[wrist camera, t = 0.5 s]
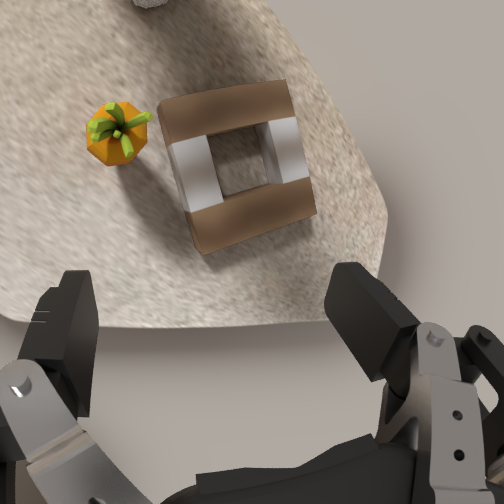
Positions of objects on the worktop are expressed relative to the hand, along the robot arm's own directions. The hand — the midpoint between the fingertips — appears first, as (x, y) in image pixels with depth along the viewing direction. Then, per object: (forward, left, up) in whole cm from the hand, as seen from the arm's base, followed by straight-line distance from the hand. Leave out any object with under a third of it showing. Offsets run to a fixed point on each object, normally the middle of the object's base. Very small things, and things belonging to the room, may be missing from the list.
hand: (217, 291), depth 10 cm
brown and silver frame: (-3, +11, -25) cm, 27 cm away
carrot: (-8, -1, -25) cm, 26 cm away
